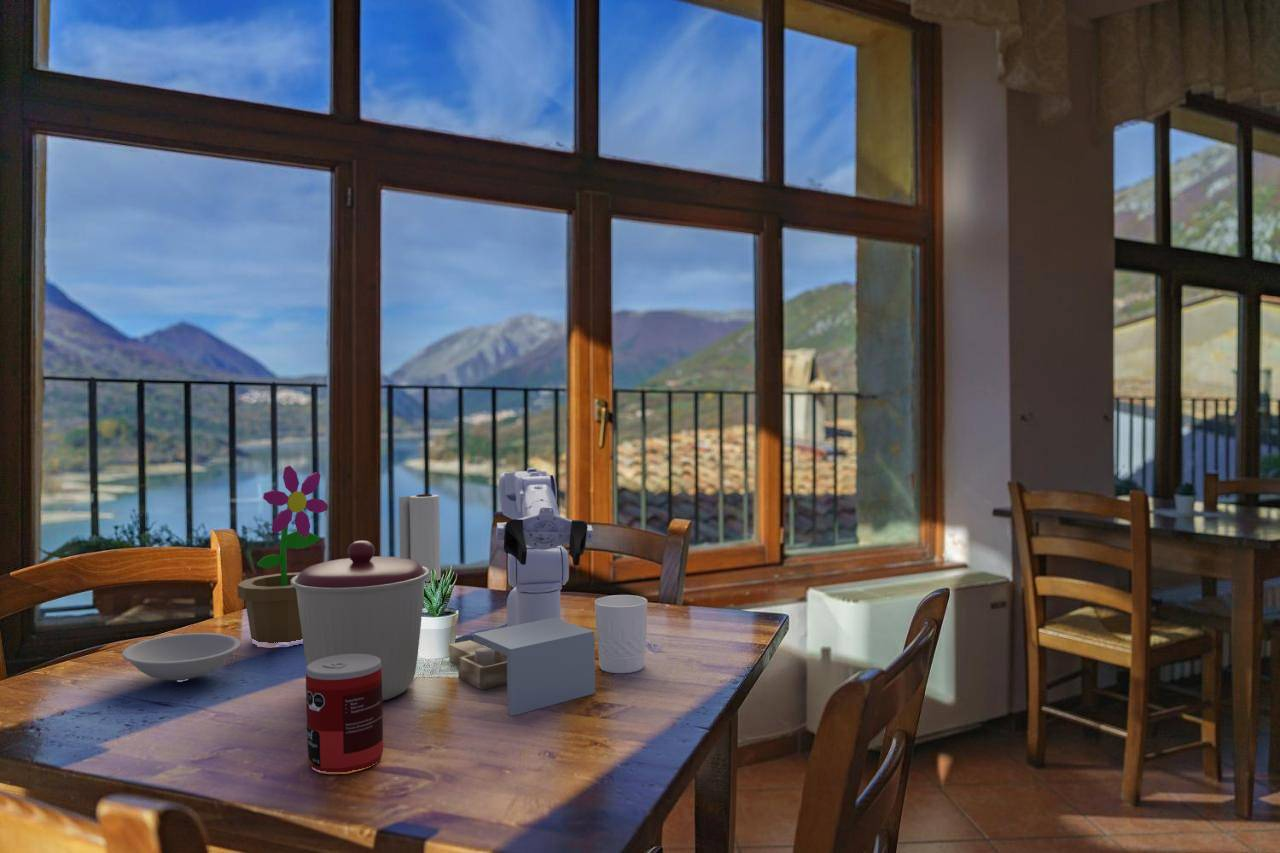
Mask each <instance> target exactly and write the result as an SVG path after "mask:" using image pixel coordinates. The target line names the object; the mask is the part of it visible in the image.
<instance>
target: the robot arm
mask: <svg viewBox="0 0 1280 853" xmlns="http://www.w3.org/2000/svg"><path fill="white" fill-rule="evenodd" d="M557 492H558V490H557V482H556V478H555V476H554V474H549V473H548V471H544V470H543V471H542V470H541V471H539V470H537V468H536V467H534V468H533V467H530V468H528V467H527V469H526V470H524V471H523V470H521V471H509V472H501V474H500V475H499V476H498V495H499V496H498V498H499V503H500V505H499V506H500V511H501V512H502V515H503V516H505V517H507V518H509V519H508V520H507V521H506V522H505V521H504V522H497V523H496V530H495V538H496V541H503V550H504V552H505V554H507V580H508V585H509V586H511V588H513V589H511V591H510V592H509V594H508V596H507V600H506V623H507V624H506V627H509V626H514V625H519V624H524V623H529V622H535V621H540V620H545V619H550V618H556V619H559V620H562V619H561V590H562V589H563V586H565V585H566V584H567V582H569V578H570V576H569V575H570V566H569V563H570V562H569V560H570V559H569V555H570V557H571V560H572V564H573V566H579V565H580V560H581V556H582V555H583V556H584V552H585V550H586V543H593V539H594V538H593V537H594V529H593V526H592V525H590V524H588V523H587V522H586V521H585V520H582V519H581V520H580V519H579V520H578V519H576V520H575V519H570V518H566V517H564V516H562V515H560V510H559V507H558V503H557V500H558V496H557V494H558V493H557ZM567 544H569V546H568V547H569V548H568V550H567V549H566V548H565V547H564V546H563V545H567Z"/></svg>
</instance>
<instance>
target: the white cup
mask: <svg viewBox="0 0 1280 853" xmlns="http://www.w3.org/2000/svg"><path fill="white" fill-rule="evenodd" d="M594 611H595V613H594V614H595V628H596V629H595V630H596V639H597V640H596V641H597V642H596V643H597V650H598V664H599V665H598V666H599V668H600V669H601V670H602V671H604V672H607V673H610V674H611V673H612V674H630V673H636V672H639V671H641V670H643V668H644V667H645V664H646V660H645V659H646V646H647V639H646V638H647V630H648V629H647V628H648V626H647V624H648V621H647V620H648V598H646V597H643V596H639V595H631V594H617V595H615V594H614V595H606V596H601V597H599V598H597V599H595V600H594Z"/></svg>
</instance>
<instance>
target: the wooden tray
mask: <svg viewBox="0 0 1280 853" xmlns="http://www.w3.org/2000/svg"><path fill="white" fill-rule="evenodd" d="M448 653H449V654H448V659H449V660H448V661H449V662H450V661H451V663H452V662H453V664H454V665H456V664H457V665H456V666H458V678H459V679H460V680H462V681H464V682H466V683H468V684H469V685H472V686H474V687H476V688H478V689H480V690H481V691H483V690H488V689H491V688H496V687H500V686H504V685H507V655H505V654H502V653H500V652H498V651H495V650H493V649H491V648H488V647H486V646H484V645H482V644H479V643H477V642H475V641H473V640H471V639H469V640H464V641H459V642H453V643H449V644H448Z"/></svg>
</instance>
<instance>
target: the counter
mask: <svg viewBox="0 0 1280 853" xmlns="http://www.w3.org/2000/svg"><path fill="white" fill-rule="evenodd" d="M472 641H473V642H476V643H478V644H480V645H483V646H485V647H487V648H491V649H493V650H495V651H498V652H500V653H502V654H505V655H507V684H506V686H507V687H506V688H507V715H508V716H510V717H514V716H518V715H520V714H525V713H527V712H528V713H529V712H532V711H537V710H540V709H543V708H547V707H550V706H554V705H557V704H562V703H566V702H569V701H572V700H575V699H580V698H584V697H587V696H591V695H594V694H596V659H595V658H596V655H595V653H596V652H595V651H596V650H595V648H596V645H595V644H596V642H595V630H592V629H589V628H586V627H583V626H580V625H576V624H574V623H572V622H568V621H565V620H563V619H561V620H559V619H556V618H550V619H545V620H540V621H535V622H529V623H524V624H519V625H514V626H509V627H507V626H504V627H499V628H494V629H489V630H485V631H479V632H474V633H472Z"/></svg>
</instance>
